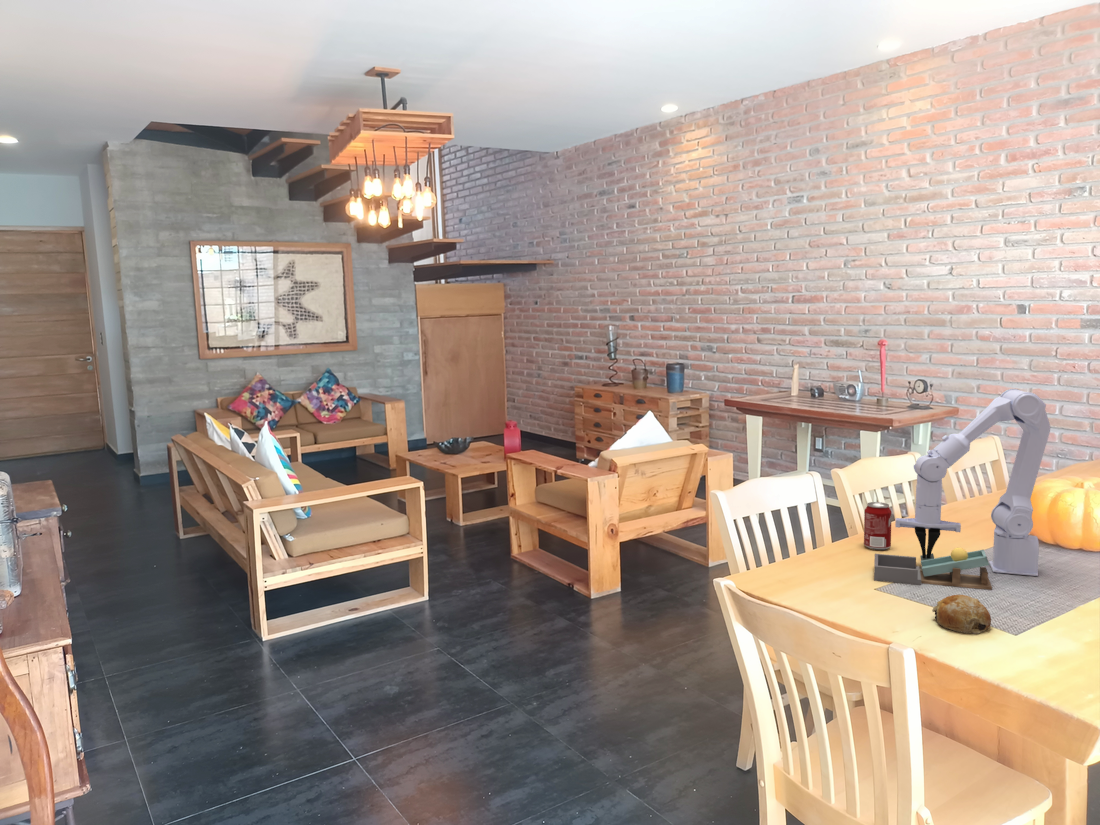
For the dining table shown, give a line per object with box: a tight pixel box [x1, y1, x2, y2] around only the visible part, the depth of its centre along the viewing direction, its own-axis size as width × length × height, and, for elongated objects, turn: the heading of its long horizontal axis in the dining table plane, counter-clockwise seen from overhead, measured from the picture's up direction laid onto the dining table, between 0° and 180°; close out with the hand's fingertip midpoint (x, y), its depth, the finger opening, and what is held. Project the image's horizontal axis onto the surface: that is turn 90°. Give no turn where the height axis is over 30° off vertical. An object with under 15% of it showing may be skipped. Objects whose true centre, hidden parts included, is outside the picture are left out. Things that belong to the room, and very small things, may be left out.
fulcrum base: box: [920, 566, 993, 591], centre depth 185 cm, size 15×8×4 cm, turn 67°
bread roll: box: [931, 594, 992, 635], centre depth 160 cm, size 10×10×8 cm
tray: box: [873, 553, 922, 586], centre depth 190 cm, size 10×11×4 cm
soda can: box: [863, 501, 893, 551], centre depth 213 cm, size 7×7×12 cm
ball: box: [950, 547, 968, 562], centre depth 185 cm, size 4×4×4 cm
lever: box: [920, 549, 990, 577], centre depth 189 cm, size 14×14×2 cm
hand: (926, 557), depth 196 cm, fingers closed
